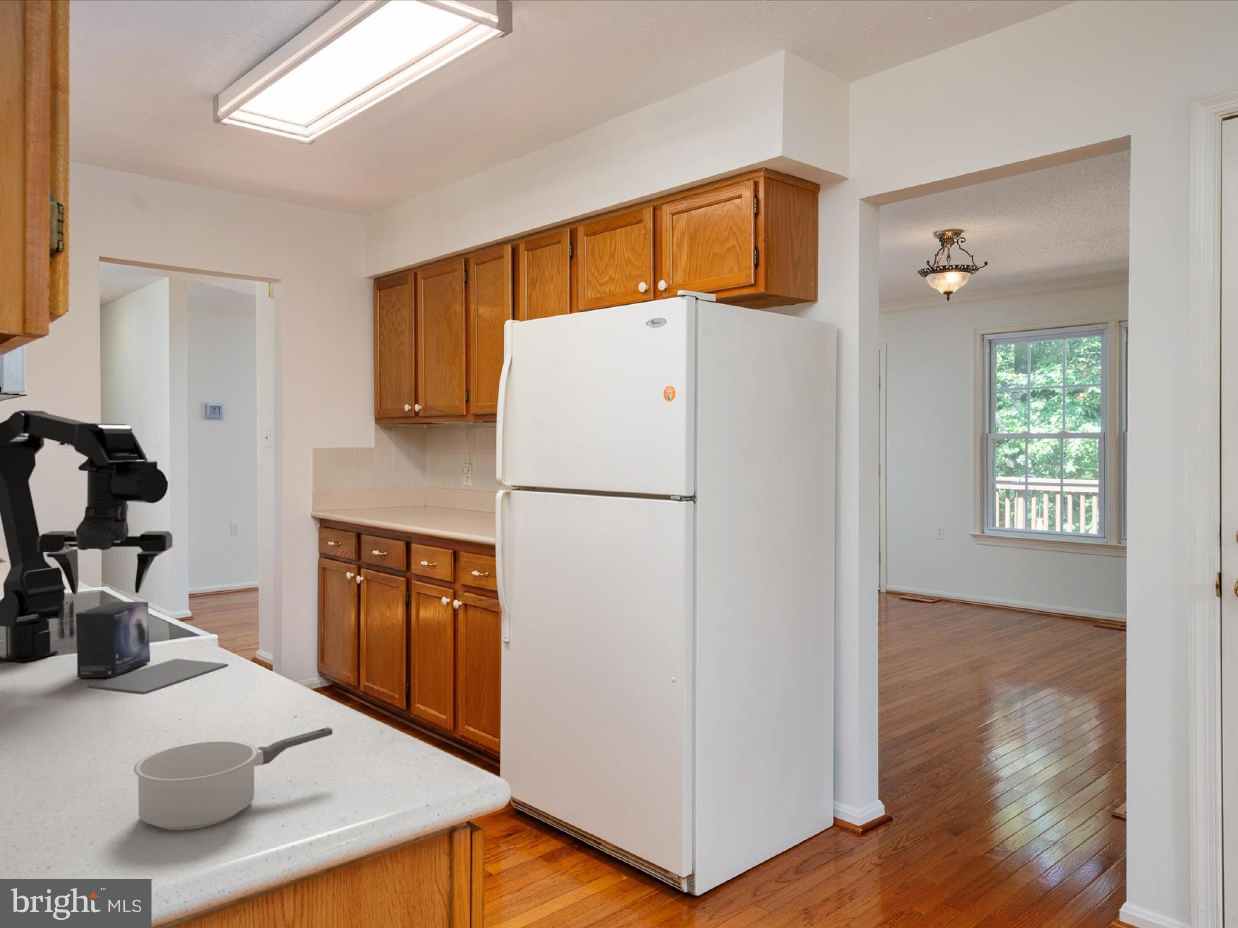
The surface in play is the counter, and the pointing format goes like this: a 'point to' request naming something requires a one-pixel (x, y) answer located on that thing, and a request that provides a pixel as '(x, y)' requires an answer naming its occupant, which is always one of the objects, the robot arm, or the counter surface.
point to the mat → (158, 676)
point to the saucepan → (204, 780)
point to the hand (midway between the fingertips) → (106, 593)
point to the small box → (112, 639)
